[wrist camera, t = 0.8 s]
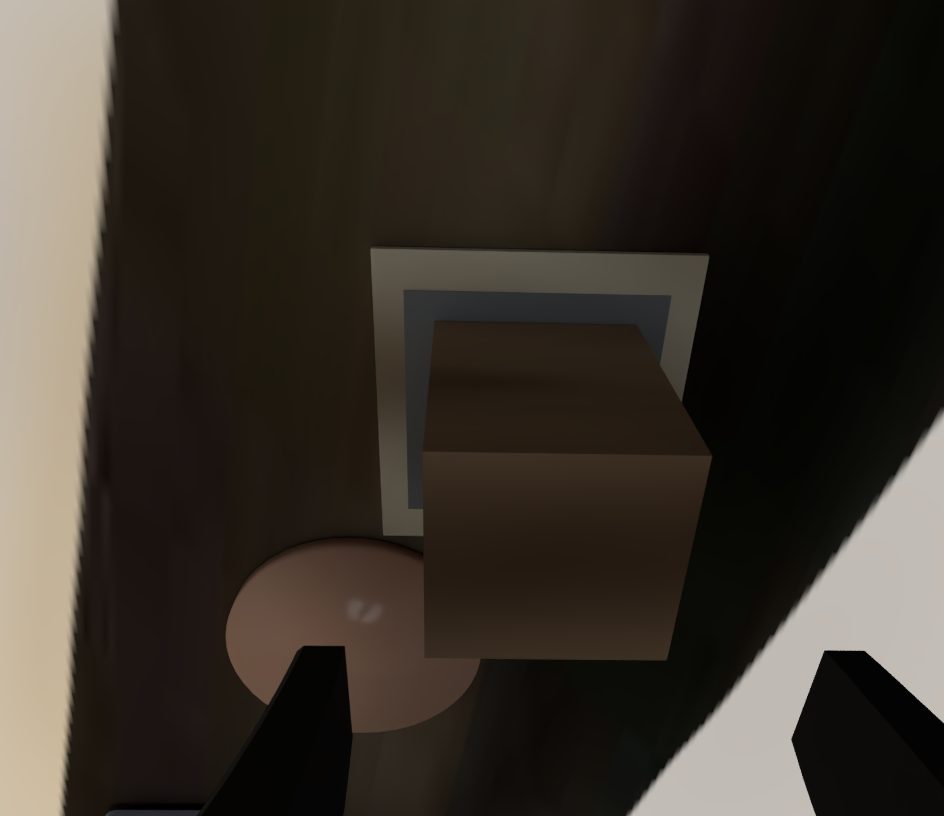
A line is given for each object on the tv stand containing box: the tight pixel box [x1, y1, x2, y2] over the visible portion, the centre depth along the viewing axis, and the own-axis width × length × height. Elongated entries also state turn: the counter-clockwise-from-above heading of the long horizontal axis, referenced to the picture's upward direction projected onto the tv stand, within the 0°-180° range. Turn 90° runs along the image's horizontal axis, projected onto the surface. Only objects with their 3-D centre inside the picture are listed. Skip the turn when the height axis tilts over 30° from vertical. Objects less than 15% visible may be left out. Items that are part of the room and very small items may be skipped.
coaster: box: [226, 537, 480, 733], centre depth 23 cm, size 8×8×1 cm
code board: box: [371, 246, 709, 536], centre depth 19 cm, size 8×8×1 cm
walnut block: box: [423, 321, 712, 660], centre depth 16 cm, size 5×5×6 cm
